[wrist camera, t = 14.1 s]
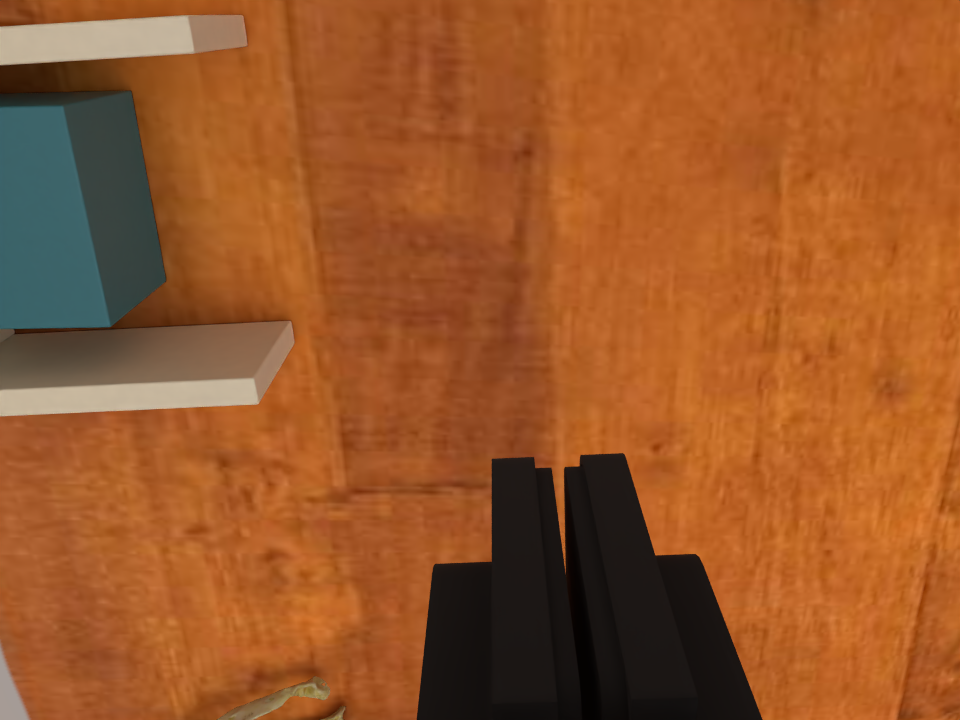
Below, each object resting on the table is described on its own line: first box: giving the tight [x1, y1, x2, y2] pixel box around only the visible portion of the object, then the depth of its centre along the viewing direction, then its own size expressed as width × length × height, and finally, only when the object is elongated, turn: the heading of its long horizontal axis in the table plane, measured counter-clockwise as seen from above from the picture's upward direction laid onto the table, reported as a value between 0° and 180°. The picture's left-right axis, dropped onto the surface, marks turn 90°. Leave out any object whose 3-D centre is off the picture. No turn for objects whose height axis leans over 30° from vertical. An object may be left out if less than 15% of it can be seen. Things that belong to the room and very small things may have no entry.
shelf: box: [0, 15, 295, 416], centre depth 27 cm, size 12×12×6 cm
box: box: [0, 91, 166, 329], centre depth 28 cm, size 5×7×5 cm
